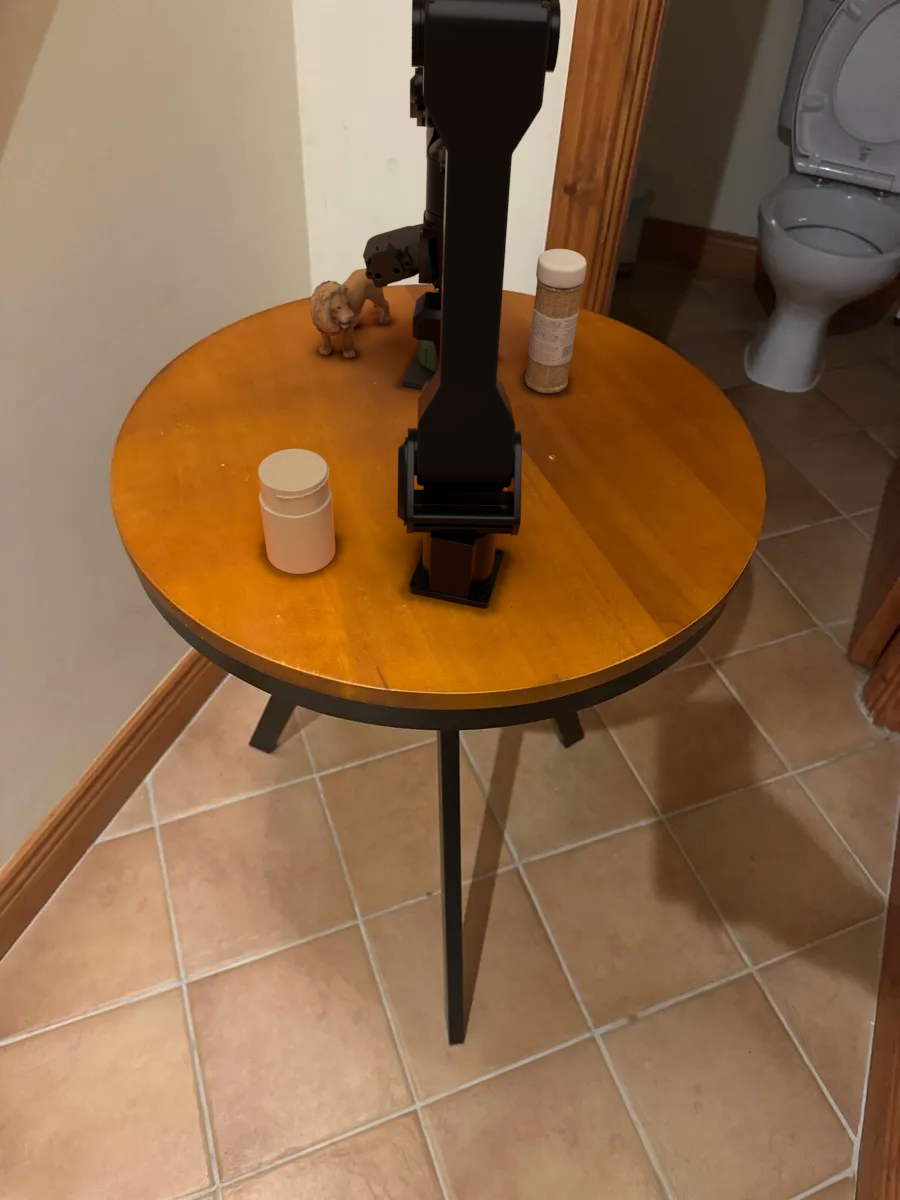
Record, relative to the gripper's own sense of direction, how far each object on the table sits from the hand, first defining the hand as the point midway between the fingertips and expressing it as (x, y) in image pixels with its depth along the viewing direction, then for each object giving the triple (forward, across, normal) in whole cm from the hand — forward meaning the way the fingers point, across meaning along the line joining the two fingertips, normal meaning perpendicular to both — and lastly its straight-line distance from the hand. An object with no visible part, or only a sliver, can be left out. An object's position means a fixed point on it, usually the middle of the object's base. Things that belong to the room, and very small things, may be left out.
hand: (450, 359), depth 93 cm
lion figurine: (+2, -4, -11) cm, 12 cm away
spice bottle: (+2, +1, +10) cm, 10 cm away
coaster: (+2, 0, 0) cm, 2 cm away
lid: (-3, 0, 0) cm, 3 cm away
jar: (+2, +29, -10) cm, 30 cm away
